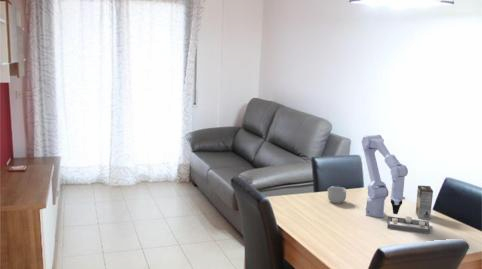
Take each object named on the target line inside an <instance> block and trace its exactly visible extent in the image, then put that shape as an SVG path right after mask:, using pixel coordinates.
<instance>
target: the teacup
mask: <svg viewBox="0 0 482 269" xmlns="http://www.w3.org/2000/svg"><path fill="white" fill-rule="evenodd" d="M346 197H347V189H346V188H345V187H341V186H334V185H332V186H330V187H328V188H327V198H328V199H327V200H329V201H330V202H331V203H332V204H335V203H336V204H337V205H338V204H343V203H344V202H345V201H346Z"/></svg>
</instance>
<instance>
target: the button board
mask: <svg viewBox="0 0 482 269" xmlns="http://www.w3.org/2000/svg"><path fill="white" fill-rule="evenodd" d="M392 218H397V219H398V222H392ZM405 219H406V217H405V218H404V217H397V216H396V217H395V216H387V229H390V230H399V231H404V232H405V231H406V232H412V233H421V234H426V235H427V234H428V235H430V234H431V225H430V222H429V220H428V221H427V220H420V219H419V220H418V219H413V218H412V222H411V223H406V222H405ZM419 221H423V222H425V226H422V225H419Z"/></svg>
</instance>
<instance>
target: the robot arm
mask: <svg viewBox="0 0 482 269" xmlns="http://www.w3.org/2000/svg"><path fill="white" fill-rule="evenodd" d="M384 141H385V140H384V138H383V137H382V135H380V134H373V135H372V134H371V135H364V136H363V137H362V139H361V145H362V146H361V147H362V150H363V153H364V158H365V163H366V166H367V170H368V176H369V179H370V183H369V184H368V185H367V195H368V196H367V197H366V206H365V216H368V217H378V218H384V217H385V212H384V211H385V200H387V199H386V198H387V197H389V189H388V188H387V185H386V183H385V182H383V180H382V179H381V175H380V171H379V167H378V162H377V157H376V154H375V153H376V151H378V152H379V153H380V154H381V156H383V157H384V163H385V164H386V165H387V167H388V168H389V169H390V175H391V180H392V184H391V192H390V203H391V207H392V214H393V215H399V214H398V213H399V211H400V208H401V206H402V205H403V200H406V197H405V196H404V188H405V177H406V176H408V172H409V171H408V168H407V166H406V165H405V164H403V163H401V162H400V161H399V159H398V158H397V157H396V155H394V154H391V153H390V151H389V150H388V148H387V146H386V145H385V143H384Z"/></svg>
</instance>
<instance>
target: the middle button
mask: <svg viewBox="0 0 482 269" xmlns="http://www.w3.org/2000/svg"><path fill="white" fill-rule="evenodd" d="M412 219H413V218H412V217H411V216H405V222H406V223H411V222H412Z"/></svg>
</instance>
